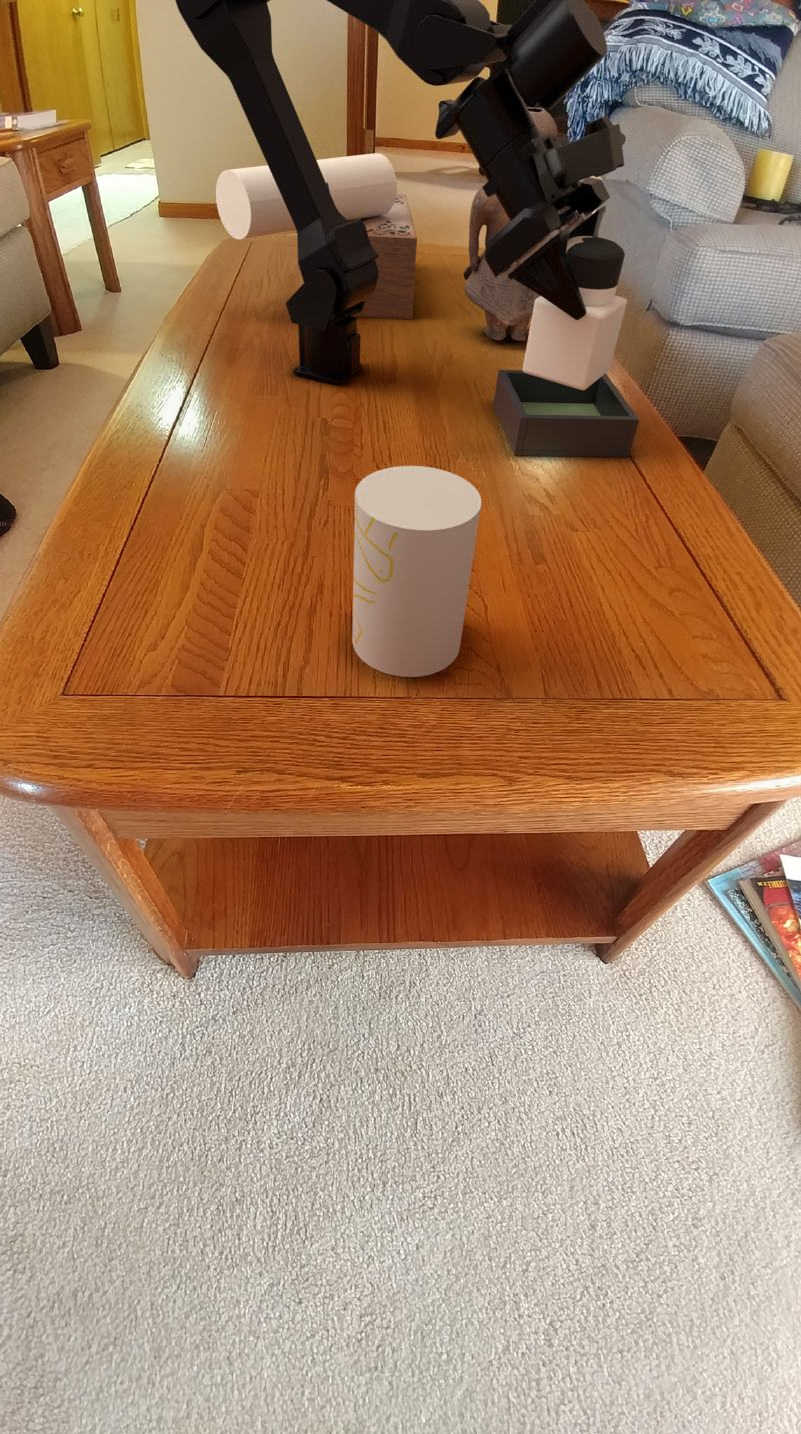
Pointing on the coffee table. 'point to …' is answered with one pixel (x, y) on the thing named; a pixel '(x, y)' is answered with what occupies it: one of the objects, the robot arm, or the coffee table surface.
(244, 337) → the coffee table surface
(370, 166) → the cylindrical container
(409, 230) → the tissue box cover
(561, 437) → the holder
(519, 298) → the clay figurine
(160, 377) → the coffee table surface
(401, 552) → the yellow-doodled white cylinder
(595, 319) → the medicine bottle
